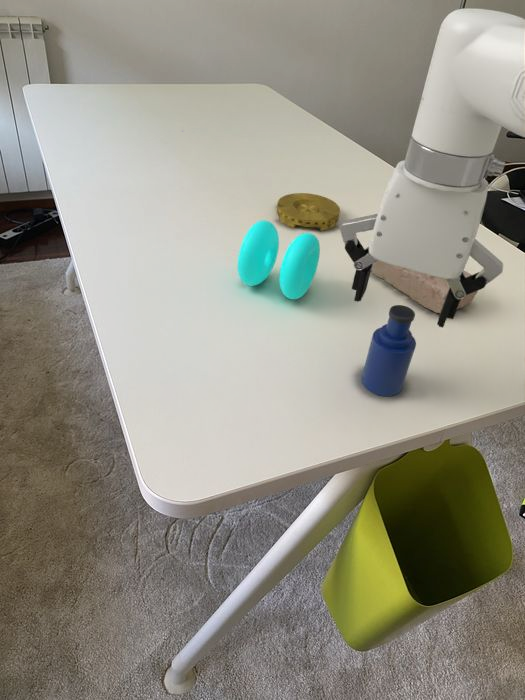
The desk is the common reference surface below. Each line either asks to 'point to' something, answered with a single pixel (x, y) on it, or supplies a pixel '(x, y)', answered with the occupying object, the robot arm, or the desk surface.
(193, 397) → the desk surface
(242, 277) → the pair of turquoise discs
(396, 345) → the bottle
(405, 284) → the brick
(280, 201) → the compass
